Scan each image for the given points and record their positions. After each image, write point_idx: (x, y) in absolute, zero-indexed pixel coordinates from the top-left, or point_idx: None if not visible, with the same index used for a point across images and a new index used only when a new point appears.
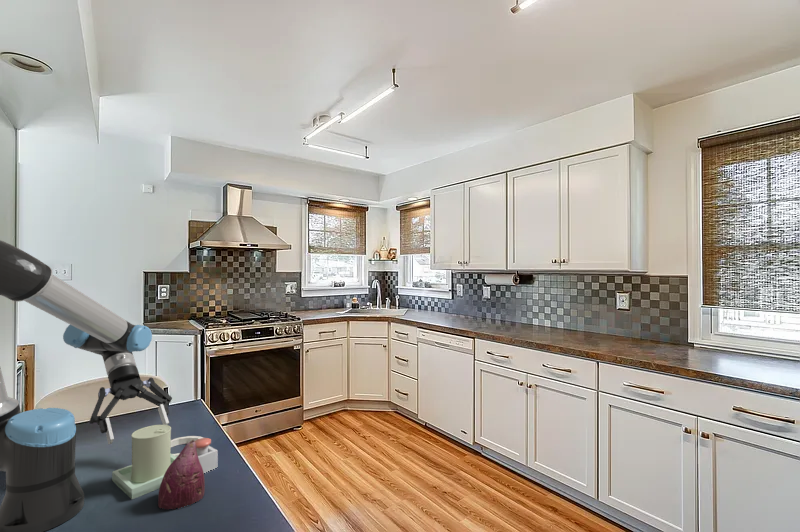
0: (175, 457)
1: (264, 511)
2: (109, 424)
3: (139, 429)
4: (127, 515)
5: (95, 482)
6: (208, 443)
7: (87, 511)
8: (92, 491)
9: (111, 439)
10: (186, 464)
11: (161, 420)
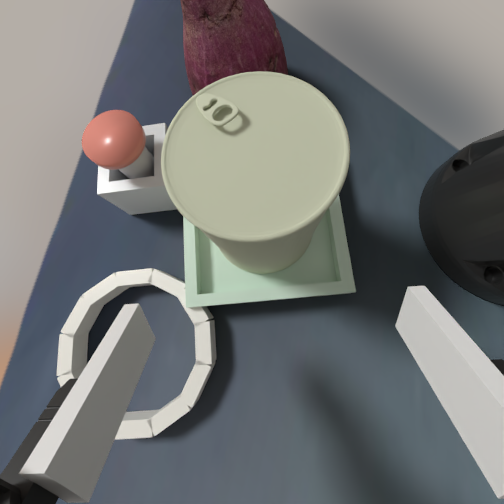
0: (187, 247)
1: None
2: (487, 377)
3: (295, 225)
4: (343, 100)
5: (386, 322)
6: (104, 115)
7: (411, 172)
8: (396, 269)
9: (420, 288)
10: None
11: (136, 383)
